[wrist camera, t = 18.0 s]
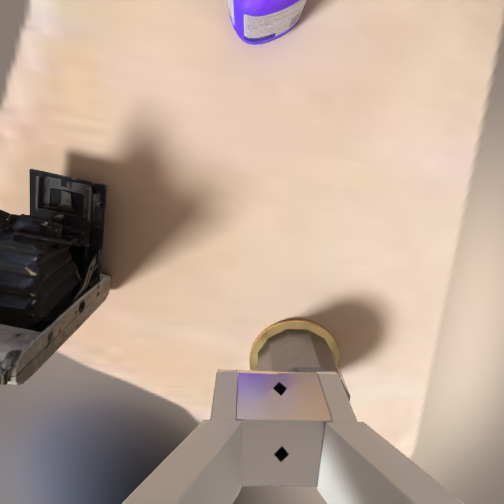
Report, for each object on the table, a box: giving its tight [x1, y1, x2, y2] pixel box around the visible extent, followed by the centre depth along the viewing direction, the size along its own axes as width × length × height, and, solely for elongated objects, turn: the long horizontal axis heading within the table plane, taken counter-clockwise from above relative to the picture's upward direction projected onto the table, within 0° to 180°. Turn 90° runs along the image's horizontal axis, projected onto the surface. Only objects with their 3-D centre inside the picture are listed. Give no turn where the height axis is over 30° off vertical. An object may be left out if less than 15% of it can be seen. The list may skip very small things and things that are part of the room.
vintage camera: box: [0, 169, 111, 385], centre depth 33 cm, size 10×15×20 cm, turn 168°
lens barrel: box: [250, 319, 350, 401], centre depth 44 cm, size 13×13×9 cm
